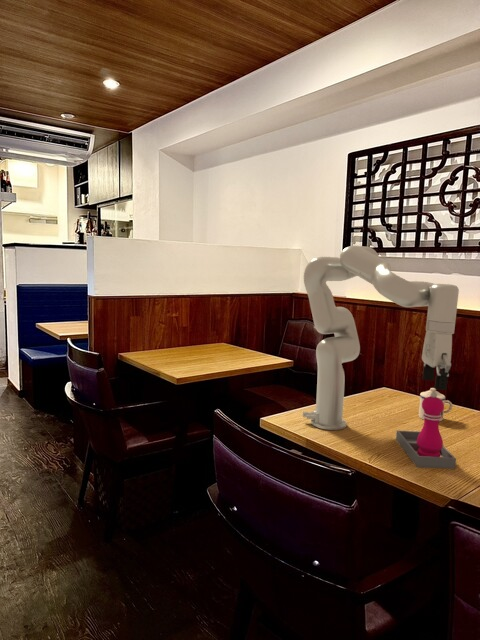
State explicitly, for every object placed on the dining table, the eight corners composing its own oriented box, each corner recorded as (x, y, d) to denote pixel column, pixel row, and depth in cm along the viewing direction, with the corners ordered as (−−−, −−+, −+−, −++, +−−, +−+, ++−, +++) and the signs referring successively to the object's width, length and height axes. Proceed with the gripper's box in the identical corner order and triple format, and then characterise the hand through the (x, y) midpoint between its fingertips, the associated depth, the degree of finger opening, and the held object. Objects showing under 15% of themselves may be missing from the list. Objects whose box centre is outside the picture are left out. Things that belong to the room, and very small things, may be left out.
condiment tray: (417, 467, 130) (417, 456, 130) (396, 439, 151) (396, 430, 151) (455, 468, 130) (456, 458, 130) (428, 440, 151) (429, 431, 150)
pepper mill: (444, 463, 131) (450, 396, 129) (417, 460, 133) (423, 394, 130) (438, 453, 138) (444, 389, 136) (413, 450, 140) (418, 387, 137)
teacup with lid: (421, 421, 170) (424, 391, 168) (415, 413, 179) (417, 384, 177) (455, 423, 168) (458, 393, 167) (446, 415, 177) (449, 386, 176)
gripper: (416, 322, 139) (411, 376, 142) (438, 331, 122) (431, 392, 125) (441, 323, 139) (435, 377, 141) (466, 332, 122) (459, 394, 124)
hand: (433, 384), depth 133 cm, fingers open, 9 cm apart
